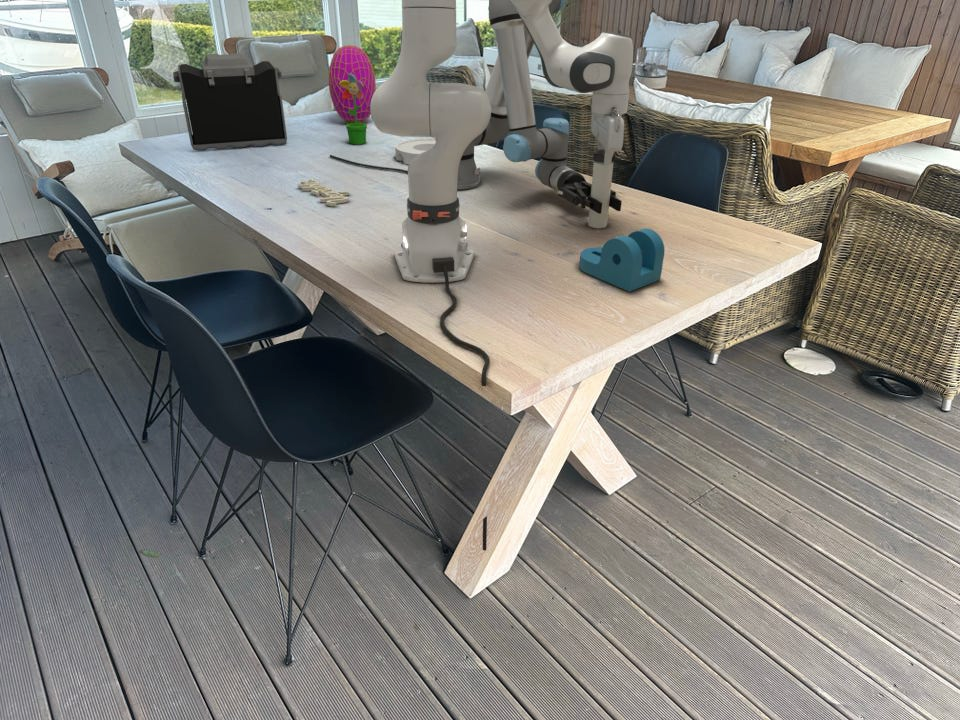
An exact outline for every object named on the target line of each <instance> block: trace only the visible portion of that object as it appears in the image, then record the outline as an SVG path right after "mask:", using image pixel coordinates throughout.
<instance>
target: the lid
mask: <svg viewBox="0 0 960 720" xmlns="http://www.w3.org/2000/svg"><path fill="white" fill-rule="evenodd" d="M592 154H593V156H592V160H593V162H594V161H596V162H600V163H603V158H604V156H605V150H598V149H597V150H594V151H593V153H592ZM615 160H616V151H614V154H613V157H612V161H611V162H613V163H614V162H615Z"/></svg>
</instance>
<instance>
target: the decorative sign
mask: <svg viewBox="0 0 960 720" xmlns="http://www.w3.org/2000/svg"><path fill="white" fill-rule="evenodd" d="M297 187H298V189H301V191H303V192H310V193H311V195H314V196H316V197H319V196H320V195H321V197H319V202H320V203H326V206H327V207H328V206H329V207H337V204H344V203H348V202H349V201H350V200H349V197H348V196H349V195H350V191H349V190H341V191H340V190H335V189H332V188H331V187H329V186H326V185H324V184H323V183H320V182H318V180H315V179H313V178H311V179H307V180H305V181H304V180H300V183H299V184H297Z"/></svg>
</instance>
